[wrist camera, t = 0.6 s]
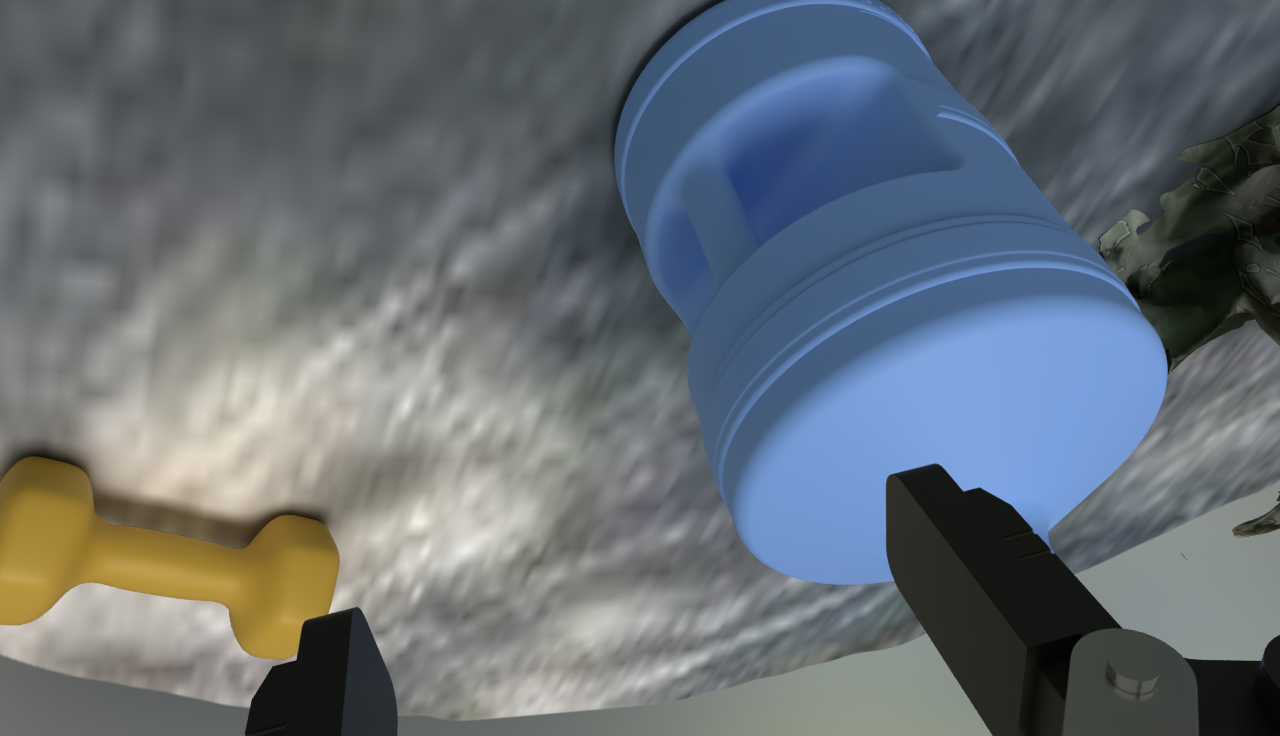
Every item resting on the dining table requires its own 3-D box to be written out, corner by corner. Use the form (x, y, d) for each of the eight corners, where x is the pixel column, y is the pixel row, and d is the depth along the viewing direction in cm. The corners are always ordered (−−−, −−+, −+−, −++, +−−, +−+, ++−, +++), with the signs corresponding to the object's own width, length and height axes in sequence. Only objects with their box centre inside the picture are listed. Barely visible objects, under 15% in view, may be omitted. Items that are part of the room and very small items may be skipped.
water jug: (982, 55, 44) (1432, 550, 26) (788, 283, 53) (1023, 770, 35) (732, -96, 36) (1128, 466, 18) (552, 201, 45) (697, 779, 27)
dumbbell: (352, 503, 60) (354, 616, 54) (287, 572, 64) (283, 683, 59) (24, 420, 48) (-14, 553, 43) (-28, 510, 53) (-70, 641, 47)
